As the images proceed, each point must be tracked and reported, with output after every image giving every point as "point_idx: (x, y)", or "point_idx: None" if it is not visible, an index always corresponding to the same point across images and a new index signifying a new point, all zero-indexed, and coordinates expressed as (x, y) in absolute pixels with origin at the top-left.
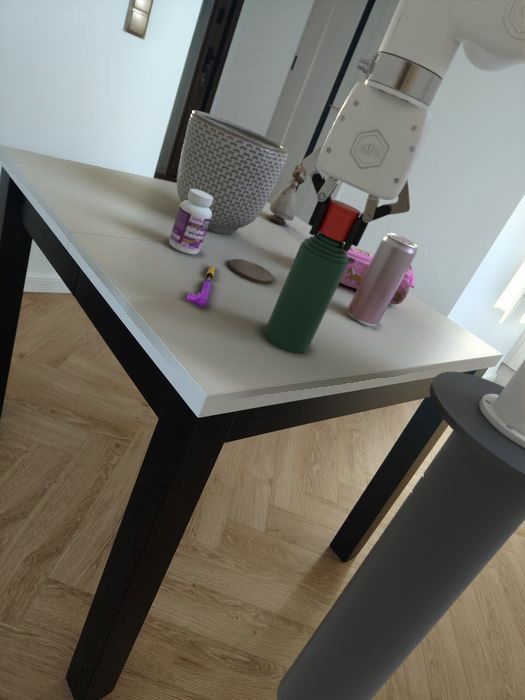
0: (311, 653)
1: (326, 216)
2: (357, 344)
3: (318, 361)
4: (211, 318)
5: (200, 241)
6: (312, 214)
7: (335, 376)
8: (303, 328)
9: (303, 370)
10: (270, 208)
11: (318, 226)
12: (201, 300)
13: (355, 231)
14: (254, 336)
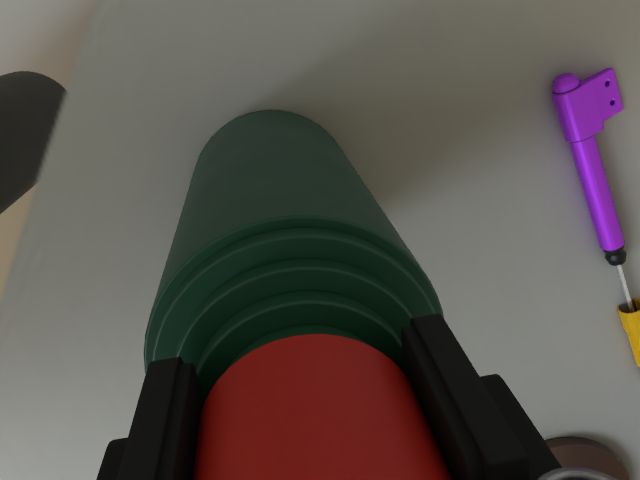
0: (33, 114)
1: (418, 427)
2: (111, 440)
3: (136, 173)
4: (499, 42)
5: None
6: (520, 411)
7: (51, 138)
8: (215, 150)
9: (137, 51)
10: None
11: (417, 357)
12: (573, 80)
13: (134, 452)
14: (351, 90)
